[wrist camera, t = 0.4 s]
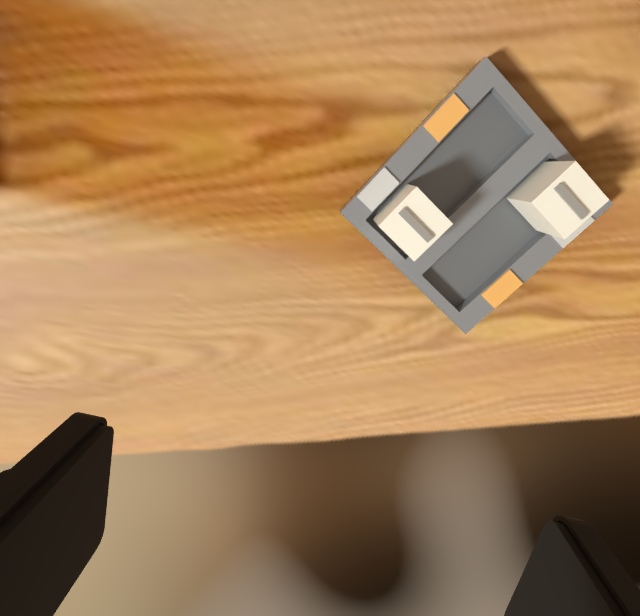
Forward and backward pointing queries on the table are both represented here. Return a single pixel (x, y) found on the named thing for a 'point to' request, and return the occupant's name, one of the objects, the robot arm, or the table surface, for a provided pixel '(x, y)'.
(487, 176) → the switch bank
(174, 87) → the table surface
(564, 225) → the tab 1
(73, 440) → the robot arm
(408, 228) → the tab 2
